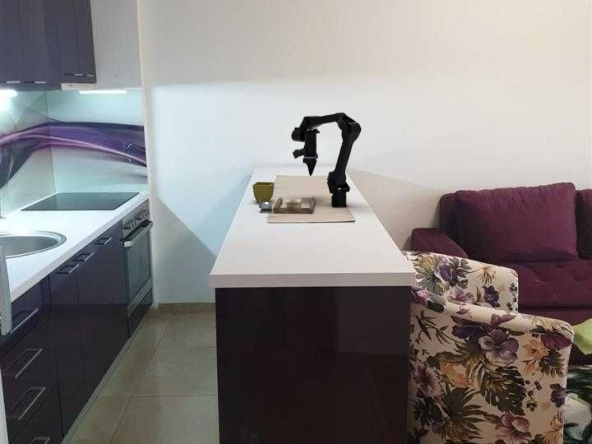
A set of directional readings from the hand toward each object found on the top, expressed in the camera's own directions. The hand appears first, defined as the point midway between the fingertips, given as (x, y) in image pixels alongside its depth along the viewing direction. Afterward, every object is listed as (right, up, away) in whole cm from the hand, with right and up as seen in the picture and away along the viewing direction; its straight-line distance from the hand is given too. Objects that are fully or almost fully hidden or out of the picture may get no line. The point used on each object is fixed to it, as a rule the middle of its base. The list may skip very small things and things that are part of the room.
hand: (310, 175), depth 297 cm
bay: (-7, -16, -13) cm, 22 cm away
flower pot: (-22, -13, 0) cm, 26 cm away
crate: (-8, -18, -21) cm, 28 cm away
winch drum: (-20, -17, -21) cm, 34 cm away
